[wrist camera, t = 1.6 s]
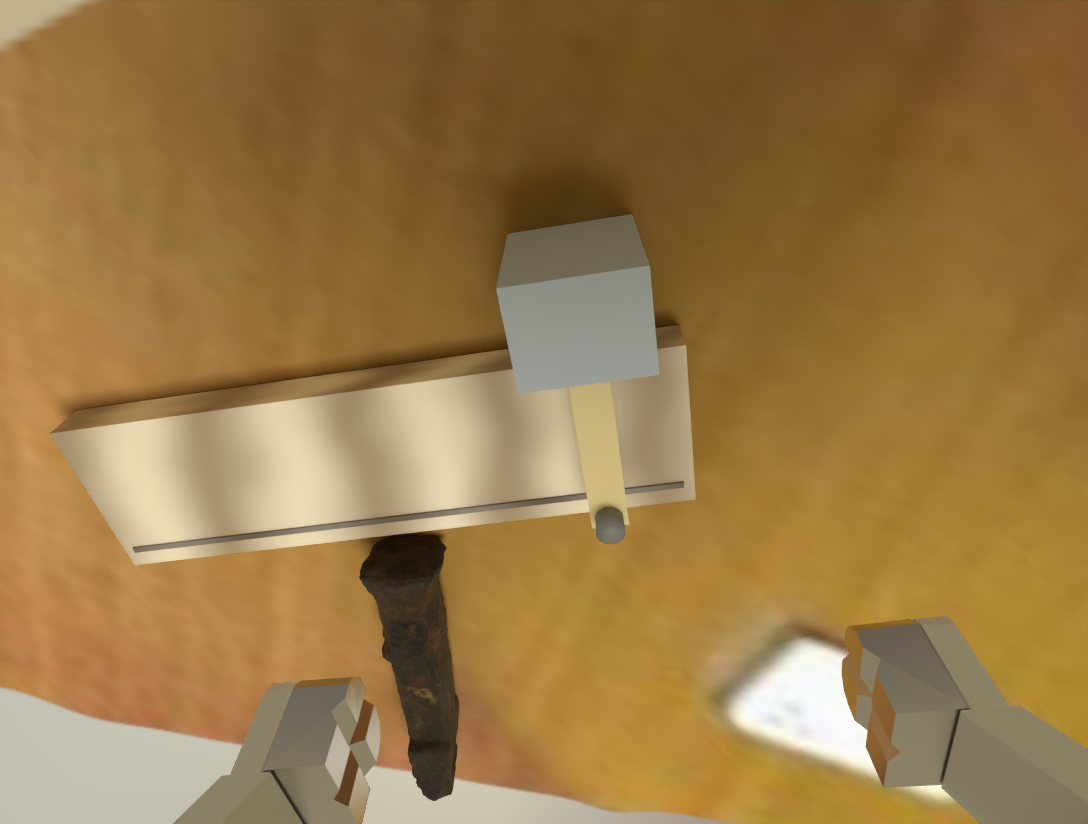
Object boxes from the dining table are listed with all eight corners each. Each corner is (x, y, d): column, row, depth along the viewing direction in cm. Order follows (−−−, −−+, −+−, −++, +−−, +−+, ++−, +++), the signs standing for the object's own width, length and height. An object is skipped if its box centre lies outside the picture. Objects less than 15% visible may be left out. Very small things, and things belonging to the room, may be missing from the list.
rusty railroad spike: (371, 527, 36) (348, 593, 32) (448, 528, 36) (433, 595, 32) (407, 742, 46) (392, 814, 42) (467, 744, 46) (458, 816, 42)
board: (678, 324, 29) (686, 346, 27) (688, 473, 33) (696, 500, 31) (76, 410, 32) (48, 434, 30) (154, 538, 36) (133, 566, 34)
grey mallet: (631, 213, 27) (649, 265, 22) (656, 461, 33) (674, 547, 28) (507, 233, 27) (496, 288, 22) (554, 474, 34) (553, 560, 28)
